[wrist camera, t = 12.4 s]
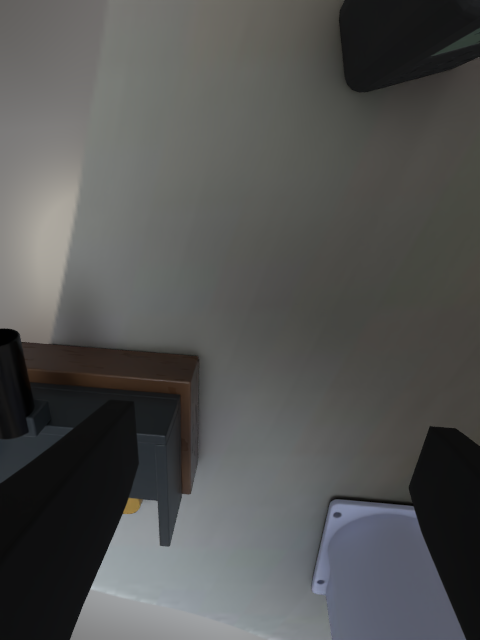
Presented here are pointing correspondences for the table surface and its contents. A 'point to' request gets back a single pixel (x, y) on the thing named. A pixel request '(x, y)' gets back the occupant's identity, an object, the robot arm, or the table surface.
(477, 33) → the walkie-talkie
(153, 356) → the stand
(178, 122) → the table surface
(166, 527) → the dark grey tray
